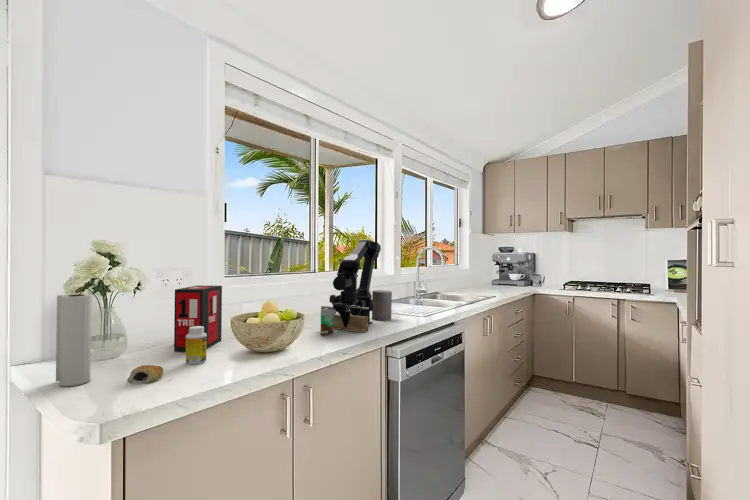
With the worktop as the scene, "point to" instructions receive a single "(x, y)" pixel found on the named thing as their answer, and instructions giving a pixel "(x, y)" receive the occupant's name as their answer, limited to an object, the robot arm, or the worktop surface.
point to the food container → (327, 320)
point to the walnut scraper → (352, 323)
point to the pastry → (145, 374)
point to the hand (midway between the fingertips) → (349, 325)
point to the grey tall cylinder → (73, 339)
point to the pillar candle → (382, 304)
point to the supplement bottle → (196, 345)
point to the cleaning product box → (197, 314)
